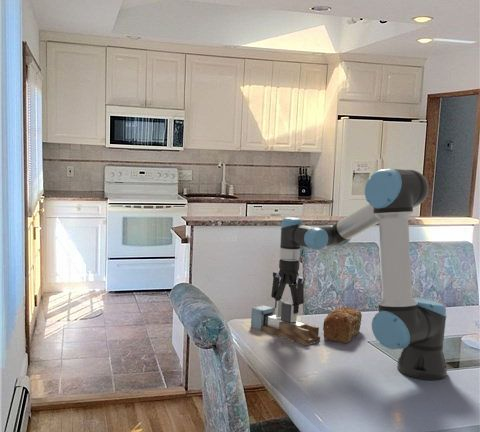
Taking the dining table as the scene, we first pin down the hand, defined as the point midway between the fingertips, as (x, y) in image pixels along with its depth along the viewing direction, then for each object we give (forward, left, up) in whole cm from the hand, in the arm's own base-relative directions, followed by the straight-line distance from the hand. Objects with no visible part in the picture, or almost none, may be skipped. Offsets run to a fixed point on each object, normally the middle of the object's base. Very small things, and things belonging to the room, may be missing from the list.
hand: (285, 319), depth 211 cm
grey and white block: (0, 0, -4) cm, 4 cm away
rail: (0, 0, -6) cm, 6 cm away
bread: (-6, -21, -6) cm, 23 cm away
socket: (+10, +5, -6) cm, 13 cm away
